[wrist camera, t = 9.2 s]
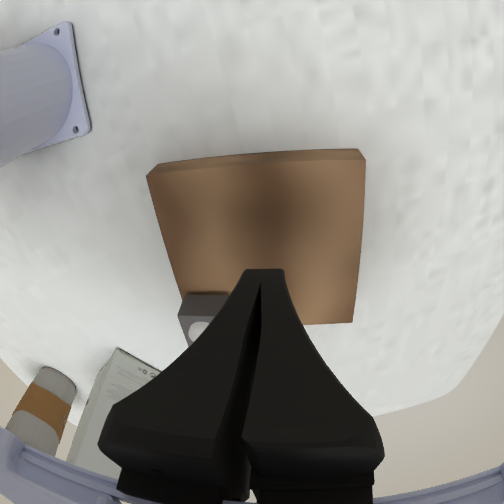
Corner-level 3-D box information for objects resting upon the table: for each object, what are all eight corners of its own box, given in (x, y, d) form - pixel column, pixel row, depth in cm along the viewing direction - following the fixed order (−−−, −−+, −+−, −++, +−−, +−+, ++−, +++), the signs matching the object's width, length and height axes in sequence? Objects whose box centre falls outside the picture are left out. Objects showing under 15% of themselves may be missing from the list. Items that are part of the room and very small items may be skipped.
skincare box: (117, 345, 30) (66, 472, 18) (166, 373, 32) (130, 499, 20) (98, 372, 34) (57, 475, 22) (139, 395, 36) (107, 498, 24)
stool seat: (213, 373, 31) (210, 389, 29) (150, 165, 19) (138, 177, 17) (339, 372, 29) (340, 389, 27) (357, 148, 17) (365, 159, 16)
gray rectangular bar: (184, 294, 21) (175, 320, 20) (228, 294, 21) (222, 321, 19) (215, 385, 28) (210, 407, 26) (247, 387, 28) (244, 409, 26)
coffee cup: (78, 400, 41) (48, 478, 29) (34, 373, 39) (-2, 449, 27) (87, 384, 37) (50, 476, 25) (37, 353, 35) (-8, 441, 23)
